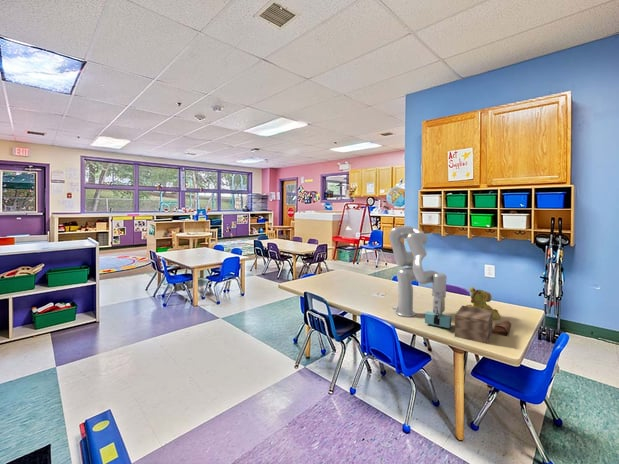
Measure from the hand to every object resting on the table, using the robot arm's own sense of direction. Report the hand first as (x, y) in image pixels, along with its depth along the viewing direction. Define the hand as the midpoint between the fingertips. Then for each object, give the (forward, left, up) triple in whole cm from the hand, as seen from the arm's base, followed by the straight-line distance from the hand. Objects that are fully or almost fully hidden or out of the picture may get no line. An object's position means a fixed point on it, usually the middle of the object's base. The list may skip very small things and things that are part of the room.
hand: (437, 322), depth 184 cm
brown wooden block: (+20, 0, -2) cm, 20 cm away
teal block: (0, 0, -1) cm, 1 cm away
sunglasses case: (+32, +16, -3) cm, 36 cm away
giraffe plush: (+18, +34, -3) cm, 39 cm away
